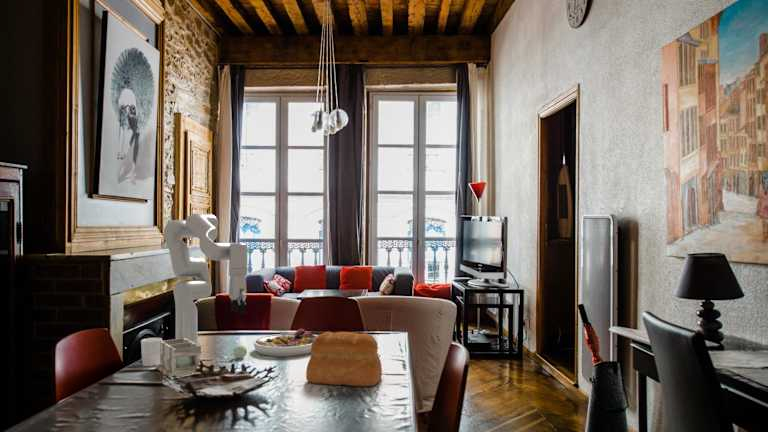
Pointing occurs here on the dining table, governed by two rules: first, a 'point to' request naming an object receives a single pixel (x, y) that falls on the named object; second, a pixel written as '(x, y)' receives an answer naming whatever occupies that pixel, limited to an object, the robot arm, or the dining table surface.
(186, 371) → the grey divided rectangular box
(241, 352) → the sage ball
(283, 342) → the bowl
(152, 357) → the white cup
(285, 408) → the dining table surface
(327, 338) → the bread
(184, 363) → the sage ball
